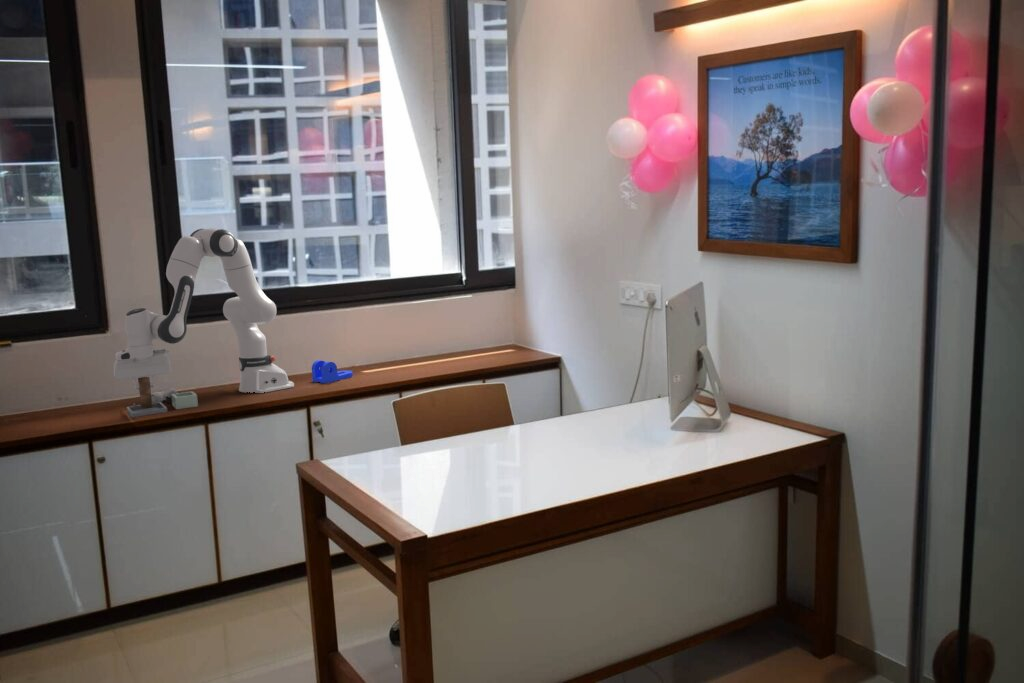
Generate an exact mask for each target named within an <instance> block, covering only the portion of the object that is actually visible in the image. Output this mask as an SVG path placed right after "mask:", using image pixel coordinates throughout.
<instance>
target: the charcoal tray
mask: <svg viewBox="0 0 1024 683" xmlns="http://www.w3.org/2000/svg"><path fill="white" fill-rule="evenodd" d="M127 413H128V414H127ZM163 413H168V407H167V406H166V405H165V404H164V403H163V402H158V403H152V408H148V409H142V408H141V404H138V405H137V406H134V405H131V406H126V414H127V415H128V416H129V418H130V417H131V418H130V419H131V421H133V419H135V418H137V417H144V416H149V415H157V414H163Z"/></svg>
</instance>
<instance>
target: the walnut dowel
mask: <svg viewBox="0 0 1024 683" xmlns="http://www.w3.org/2000/svg"><path fill="white" fill-rule="evenodd" d="M137 381H138V383H137V384H139V387H140V389H138V391H139V400H140V405H141V408H142V409H148V408H152V397H151V395H152V390H151V389H152V387H150V382H151V379H150V376H144V377H137Z"/></svg>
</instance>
